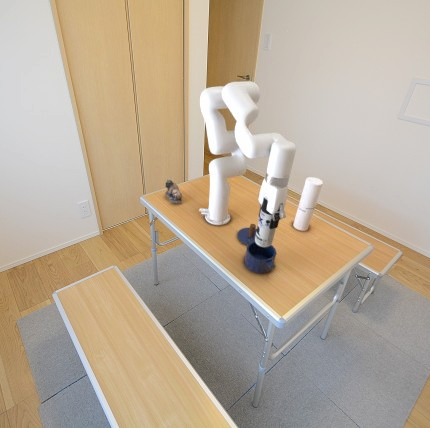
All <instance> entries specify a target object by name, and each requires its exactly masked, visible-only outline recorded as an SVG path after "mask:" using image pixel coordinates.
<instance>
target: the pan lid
mask: <svg viewBox="0 0 430 428" xmlns="http://www.w3.org/2000/svg"><path fill="white" fill-rule="evenodd" d="M256 232H257V225H256V224H255V223H251V224H250V225H249V227H244V228H241V229H239V230H238V231H237V234H236V237H237V239H238V241H240V243H242V244H243V245H246V246H248V244H249V241H248V239H251V238H254V239H255V236H256Z"/></svg>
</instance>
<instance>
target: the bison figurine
mask: <svg viewBox="0 0 430 428" xmlns="http://www.w3.org/2000/svg"><path fill="white" fill-rule="evenodd" d="M165 188H166V189H167V190H166V192H165V193H164V195H165V197H167V198H168V199H169V202H171V203H172V204H181V203H183V196H182V193H181V190H180V188H179V186H178V184H177V183H176V182H173V180H172V179H166V182H165Z"/></svg>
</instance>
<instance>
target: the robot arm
mask: <svg viewBox="0 0 430 428" xmlns="http://www.w3.org/2000/svg"><path fill="white" fill-rule="evenodd" d="M260 99H261V90H260V87H259V86H258V85H257V83H256V82H254V81H251V80H250V81H249V80H248V81H247V80H246V81H231V82H229V83H226V84H225V85H224V86H219V85H217V86H211V87H207V88H204V89H203V90H202V91H201V93H200V95H199V108H200V111H201V112H200V113H201V114H202V117H203V119H204V120H203V121H204V123H205V128H206V135H207V136H206V137H207V143H208V149H209V151H210V153H211V154H212V155H215V156H216V155H219V156H220V155H227V154H231V155H229V156H222V157H217V158H214V159H212V160H211V161H210V162H209V164H208V173H209V196H208V197H209V198H208V207H206V208H203V207H199V213H200V214H201V215H203V216H204V219H205V221H206V222H208V223H209V224H211V225H215V226H223V225H226V224H228V223H229V222H230V220H231V215H230V213H229V206H230V196H231V185H230V183H229V182H228V181H227V180H228V179H231V178H236V177H241V176H244V175H245V174H246V173H247V170H248V160H247V158H248V159H251V160H255V159H261V158H268V162H267V167H266V172H265V177H264V179H263V181H262V184H261V185H260V189H259V192H258V203H259V211H258V217H260V212H261V207H262V203H263V199H264V198H265V199H267V201H268V204H267V211H268V212H269V213H271V214H272V219H271V221H270V226H269V228H270V229H274V228H276V229H278V227H279V223H280V220H283V219H285V218H287V215H286V212H285V208H286V204H287V198H288V185H289V180H290V177H291V172H292V168H293V164H294V160H295V156H296V152H297V145H296V144H295V143H294V142H293V141H290V140H287V139H286V138H285V137H284V136H283V135H282V134H281V133H279V132H267V133H258V134H252V133H251V131H250V130H249V128H248V126H249V127H250V126H251V125H252V124H253V123H254V122H255V121H256V120H257V118H258V116H259V107H258V106H257V104H258V102H259V101H260ZM227 109H228V110H229V111H230V114H231V115H232V116H233V118H234V120H235V121H236V122H235V124H234V125H235V126H234V129H233V130H228V129H227V124H226V119H225V117H224V115H223V114H222V113H221V112H220V111H219V110H227ZM278 209H279V210H278ZM277 210H278V211H277ZM276 213H278V214H277V215H278V216H277V217H275V214H276Z"/></svg>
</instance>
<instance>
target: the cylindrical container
mask: <svg viewBox="0 0 430 428" xmlns="http://www.w3.org/2000/svg"><path fill="white" fill-rule="evenodd" d="M323 183H324V181H323V180H322V179H320V178H318V177H314V176H310V177H309V176H308V177H306V178H305V182H304V185H303V188H302V193H301V196H300V199H299V202H298V206H297V210H296V213H295V217H294V220H293V224H292V225H293V227H294V229H296V230H298V231H300V232H301V231H302V232H304V231H305V232H306V231H308V230H309V227H310V223H311V221H312V218H313V215H314V212H315V209H316V206H317V203H318V200H319V196H320V194H321V190H322V187H323Z"/></svg>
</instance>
